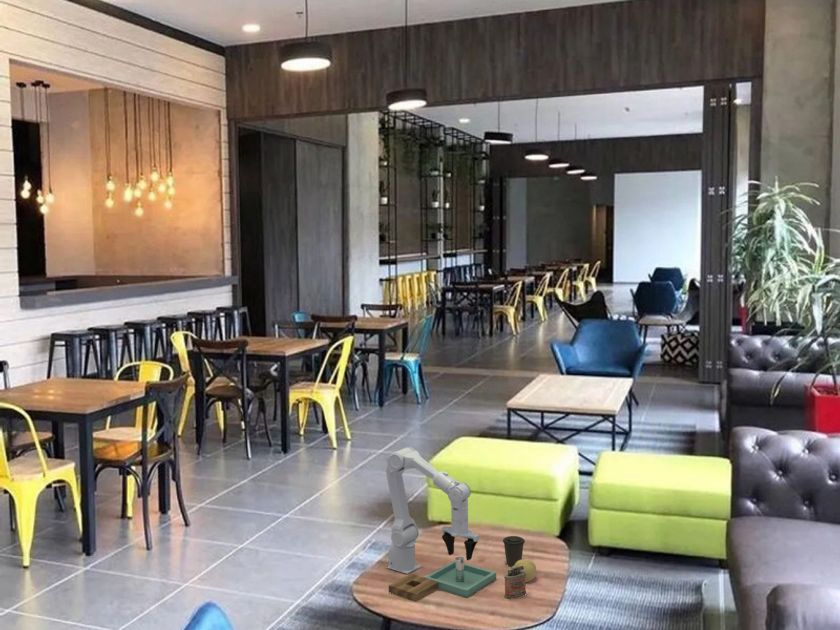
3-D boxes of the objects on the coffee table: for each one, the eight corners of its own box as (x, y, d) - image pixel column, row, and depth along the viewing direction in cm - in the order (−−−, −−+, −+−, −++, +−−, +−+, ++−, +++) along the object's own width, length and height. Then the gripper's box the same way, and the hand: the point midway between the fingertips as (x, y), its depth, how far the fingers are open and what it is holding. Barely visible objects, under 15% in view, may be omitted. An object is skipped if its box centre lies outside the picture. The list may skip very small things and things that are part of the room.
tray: (424, 584, 284) (424, 577, 284) (454, 567, 298) (454, 560, 298) (467, 597, 273) (467, 590, 273) (496, 579, 287) (496, 572, 287)
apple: (537, 584, 282) (525, 566, 280) (517, 589, 286) (506, 571, 285) (542, 569, 288) (531, 552, 287) (523, 574, 292) (512, 557, 291)
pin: (454, 580, 285) (453, 558, 284) (459, 578, 287) (459, 555, 287) (460, 583, 283) (460, 560, 282) (466, 580, 285) (465, 558, 284)
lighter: (508, 600, 271) (507, 570, 270) (502, 596, 274) (502, 567, 273) (528, 594, 274) (528, 566, 273) (522, 591, 277) (522, 562, 276)
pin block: (388, 592, 278) (388, 585, 278) (410, 580, 288) (410, 573, 287) (416, 601, 271) (416, 594, 271) (438, 588, 280) (438, 581, 280)
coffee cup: (500, 567, 298) (499, 540, 297) (506, 558, 305) (506, 532, 304) (521, 570, 295) (521, 543, 294) (527, 561, 302) (527, 535, 301)
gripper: (436, 517, 284) (436, 555, 286) (470, 526, 276) (470, 565, 277) (447, 512, 290) (448, 549, 291) (482, 520, 281) (482, 558, 282)
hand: (460, 556), depth 285 cm, fingers open, 7 cm apart
